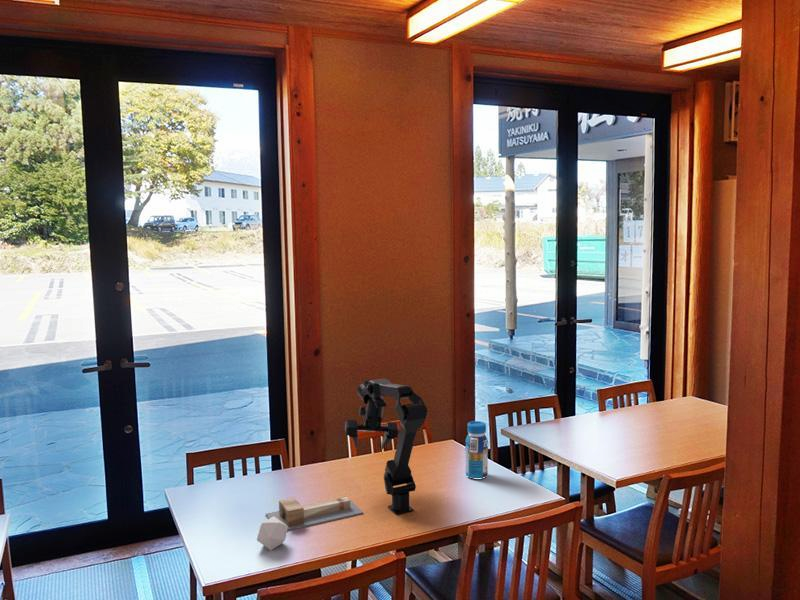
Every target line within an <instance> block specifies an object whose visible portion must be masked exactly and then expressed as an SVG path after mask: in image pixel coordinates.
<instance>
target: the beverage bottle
mask: <svg viewBox="0 0 800 600" xmlns="http://www.w3.org/2000/svg"><path fill="white" fill-rule="evenodd" d="M466 429H467V433H468V434H467V436H466V438H465V448H464V451H465V472H464V473H465V474H466V475H465V477H466V476H468V477H471V478H483V477H486V476H487V475H489V473H488V471H489V470H488V468H489V467H488V465H489V463H488V459H489V458H488V457H489V453H488V452H489V446H488V444H489V441H488V438H487V436H486V433H487V424H486V423H485V422H484V421H480V420H477V421H476V420H475V421H469V422H468V423H467V428H466ZM468 477H467V478H468ZM487 477H488V476H487ZM487 477H486V478H487Z"/></svg>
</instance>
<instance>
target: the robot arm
mask: <svg viewBox="0 0 800 600" xmlns="http://www.w3.org/2000/svg"><path fill="white" fill-rule="evenodd" d="M356 393H357V395H358V396H359V398H360V399H361V400H362V401H363V403H364V404H366V406H361V405H360V406H359V412H358V413H359V416H360V417H363V423H364V424H358V420H356V419H355V420H354V419H353V420H352V419H346V421H345V422H344V429H345V435H346V436H348V437H349V438H352V440H353V443H354V447H355V449H358V441H359V439H358V438H359V437H358V432H373V433H375V432H383V437H382V442H381V446H380V450H384V448H385V447H386V446H387V445H388V444H389V443H390V441H392V440H395V439H396V438H398V440H397V443H396V444H397V445H396V449H395V453H394V456H393V457H394V458H393V459H390V460H387V461H386V464H385V465H386V466H385V468H384V474H383V482H384V488H385V492H386V495H390V496H391V504H390V505H388V506H387V509H389V510H390V511H392V513H393V514H395V515H401V514H405V513H410V512H413V511H414V508H413V507H412V506H411V505H410V492H415V491H416V489H417V488H416V487H417V485H416V483H415V480H414V478H413V475H412V470H411V467H410V466H409V464H410V459H411V456H412V452H413V447H414V444H415V440H416V436H417V432H418V431H419V429H421V428H422V427H423V426H424V424H425V422H426V419H427V418H428V417H427V416H428V408H427V406H426V404H425V402H424V399H423V398H422V397H421V396H419V395H418V394H417V393H416V392H415V391H414V390H413V389H412V386H411V385H408V384H406V385H402V384H398V383H391V381H390V380H389V379H387V378H380V379H373V380H371V379H370V380H368V379H366V380H363V382H362V383H361V384H360V385H359V386H358V387H357V389H356ZM384 396H385V397H389V398H393V399H394V398H395V402H396V403H395V408H394V410H395V411H396V414H397V417H398V421H399V422H400V425H401V428H400V427H399V423H398V422H397V421H396V422H393V421H387V422H386V424H385V425H383V424H382V420H383V414H384V413H383V412H384V408H387V405H388V404H387V403H386V401H385V398H384ZM401 399H408V400H409V401H410V402H411V403H409V404H402V403H401Z"/></svg>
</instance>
